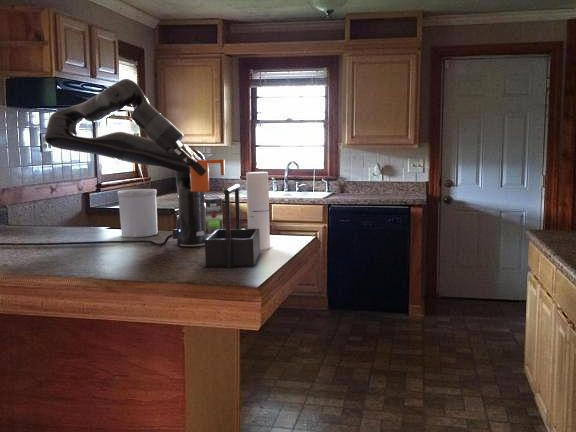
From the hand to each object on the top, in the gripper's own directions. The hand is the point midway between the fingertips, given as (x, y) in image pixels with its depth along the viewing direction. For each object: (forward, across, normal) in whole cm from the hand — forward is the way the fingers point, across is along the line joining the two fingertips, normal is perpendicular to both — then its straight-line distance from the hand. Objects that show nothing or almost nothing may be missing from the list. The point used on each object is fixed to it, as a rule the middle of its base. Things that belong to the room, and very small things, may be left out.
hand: (205, 173), depth 187 cm
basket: (+24, 0, -13) cm, 27 cm away
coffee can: (+12, -57, -25) cm, 63 cm away
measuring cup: (+4, 0, -3) cm, 5 cm away
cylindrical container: (+28, -21, -9) cm, 36 cm away
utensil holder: (-8, -58, -45) cm, 74 cm away
